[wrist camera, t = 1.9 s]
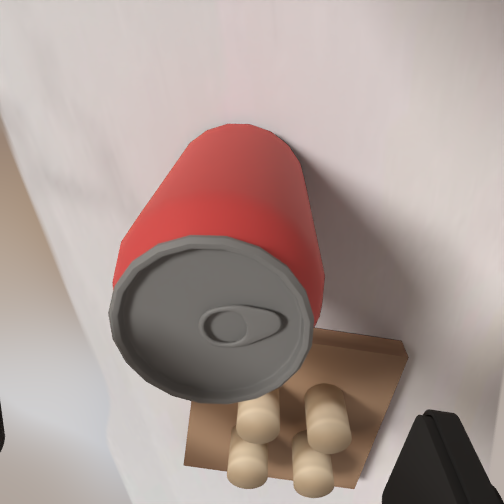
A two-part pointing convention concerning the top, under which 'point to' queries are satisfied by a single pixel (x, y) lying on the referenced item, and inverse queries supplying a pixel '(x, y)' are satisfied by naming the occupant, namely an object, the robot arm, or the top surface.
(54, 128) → the top surface
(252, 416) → the peg stand
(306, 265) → the beer can
